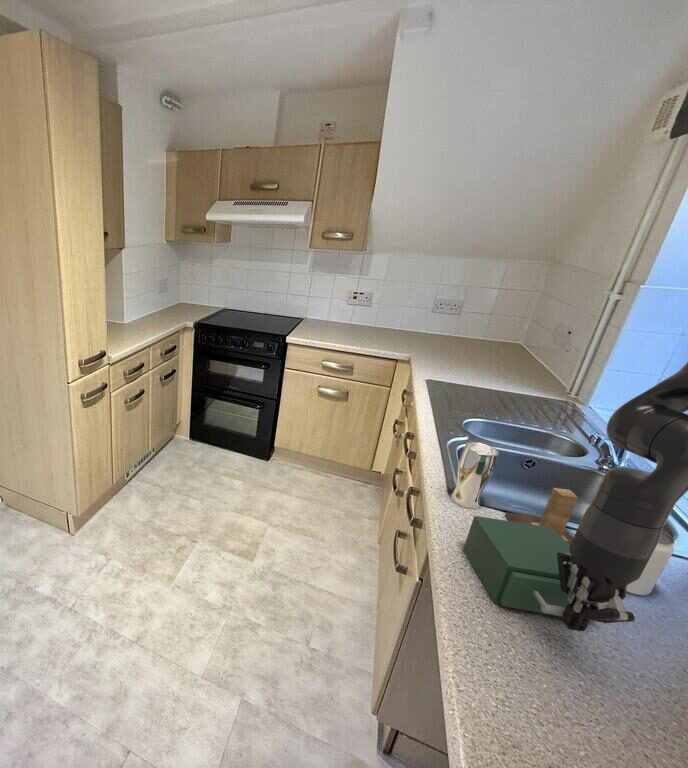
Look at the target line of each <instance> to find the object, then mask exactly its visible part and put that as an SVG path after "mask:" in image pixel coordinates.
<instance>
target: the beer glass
mask: <svg viewBox="0 0 688 768" xmlns="http://www.w3.org/2000/svg"><path fill="white" fill-rule="evenodd" d="M499 453H500V451H498V449H496V448H495V447H493V446H491V445H489V444H486V443H483V442H478V441H468V442H466V443H465V445H464V447H463V450H462V452H461V455H460V458H459V461H458V466H457V477H456V478H457V479H456V485H455V488H454V489H453V491H452V493H451V494H450V499H451V501H452V502H453V503H455V504H456V505H458V506H460V507H463V508H465V509H470V510H475V509H478V508H480V506H481V498H482V494H483V492H484V489H485V488H486V486H487V485H488V483H489V482H490V480H491V479H492V477H493V475H494V473H495V469H496V467H497V462H498V457H499Z"/></svg>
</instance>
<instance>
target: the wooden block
mask: <svg viewBox="0 0 688 768" xmlns="http://www.w3.org/2000/svg"><path fill="white" fill-rule="evenodd" d="M578 500H579V497H578V496H577V494H575V493H574V492H573V491H572V490H570V489H565V488H559V487H553V488H552V491H551V494H550V495H549V498H548V500H547V503H546V505H545V507H544V510H543V513H542V515H541V516H540V517H541V520H540V522H539V523H533V522H531V523H530V524H533V525H539V526H546V527H553V528H554V529H555V530H556V531H557V533H558V534H559V535H560V536H561V537H562V538H563V539H564V540H565V541H566V542H567V543H568V542H569V540H568V539H567V538H566V537H565V536H564V535H563V532H564V530H566V528H567V525H568V523H569V520H570V518H571V516H572V514H573V511H574V509H575V507H576V505H577V502H578Z"/></svg>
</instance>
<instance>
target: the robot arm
mask: <svg viewBox="0 0 688 768" xmlns="http://www.w3.org/2000/svg"><path fill="white" fill-rule="evenodd" d="M685 412H688V361H687V362H686V363H685V364H684V365H683V366H682V367H681V368H680V369H679V370H678V371H677V372H675V373H674V374H672V375H670V376H668V377H667V378H665V379H664V380H662V381H660V382H658V383H657V384H655V385H654V386H652V387H650V388H649V389H647V390H645V391H644V392H641V393H640V394H638V395H636V396H634V397H633V398H631V399H630V400H628V401H627V402H625V403H624V404H622V405H621V406H619V407H618V408H617V409H616V410H615V411H614V412H613V413H612V415H610V417H609V419H608V422H607V424H606V429H605V430H606V436H607V438H608V440H609V441H610V442H611V443H612V444H613V445H614V446H616V447H617V448H621V449H622V450H625V451H627V452H629V453H632V454H634V455H636V456H639V457H641V458H643V459H645V460H648V461H650V462H652V463H654V464H656V466H655V468H654V470H653V471H648V470H644V469H640V468H635V467H630V466H615V467H612V468H610V469H608V470H607V471H606V472H605V474H604V475H603V477H602V479H601V481H600V484H599V485H598V488H597V490H596V493H595V494H594V497H593V499H592V501H591V503H590V504H589V506H588V507H587V508H586V510H585V511H584V513H583V515H582V518H581V520H580V523H579V525H578V527H577V528H576V531H575V533H574V536H573V540H572V542H571V545H570V547H569V550H570V553H571V554H568V553H560V552H558V553H557V560H558V569H559V578H560V587H561V590H562V591H563V592H566V593H567V597H566V600H567V602H568V604H567V606H566V609H565V610H564V612H563V617H561V622H562V623H563V624H564V626H565V627H566V628H567V630H571V631H575V632H585V631H586V630H587V628H588V626H589V624H590V622H591V621H592V622H597V623H602V624H614V623H630V622H631V623H632V622H634V621H635V618H636V617H635V615H634V613H633V612H632V611H627V610H626V609H625V605H624V602H623V600H624V599H625V598H626V596H627V592H626V587H627V585H628V584H630V583H632V582H634V581H636V580H638V579H639V578H640V576H641V574H642V572H643V570H644V568H645V567H646V565H647V563H648V561H649V559H650V557H651V555H652V553H653V552H654V550H655V548H656V546H657V544H658V542H659V540H660V536H661V532H662V531H663V529H664V526H665V525H666V523H667V521H668V519H669V517H670V515H671V514H672V511H673V509H674V508H675V505H676V504H677V503H678V501H679V500H680V499H681V498H682V497H683V496H684V495H685V494H686V493H687V492H688V413H685ZM569 568H570V569H569ZM569 576H570V578H569V581H568V577H569Z"/></svg>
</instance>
